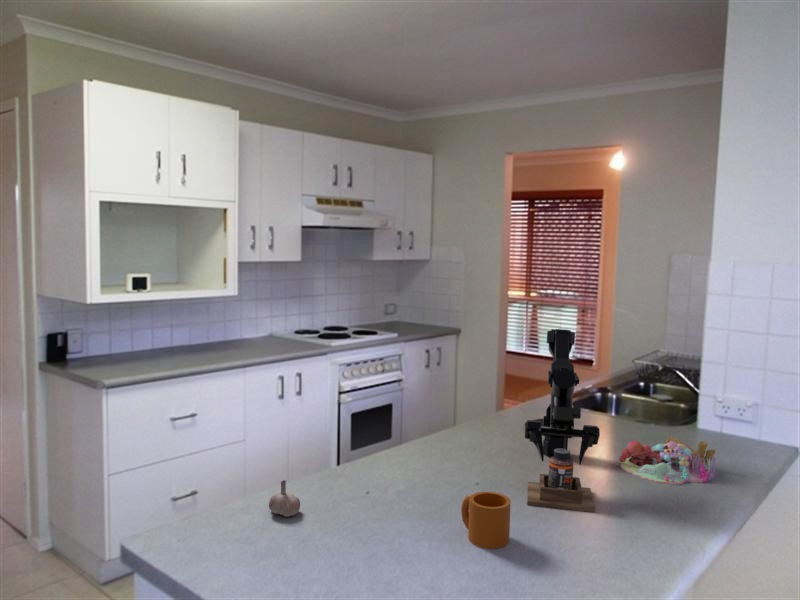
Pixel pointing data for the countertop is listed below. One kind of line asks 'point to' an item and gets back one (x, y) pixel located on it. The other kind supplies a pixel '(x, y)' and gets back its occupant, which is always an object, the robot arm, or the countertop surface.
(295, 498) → the garlic bulb
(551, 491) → the bottle stand
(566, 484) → the supplement bottle
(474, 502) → the mug
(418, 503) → the countertop surface
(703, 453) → the coral reef model
